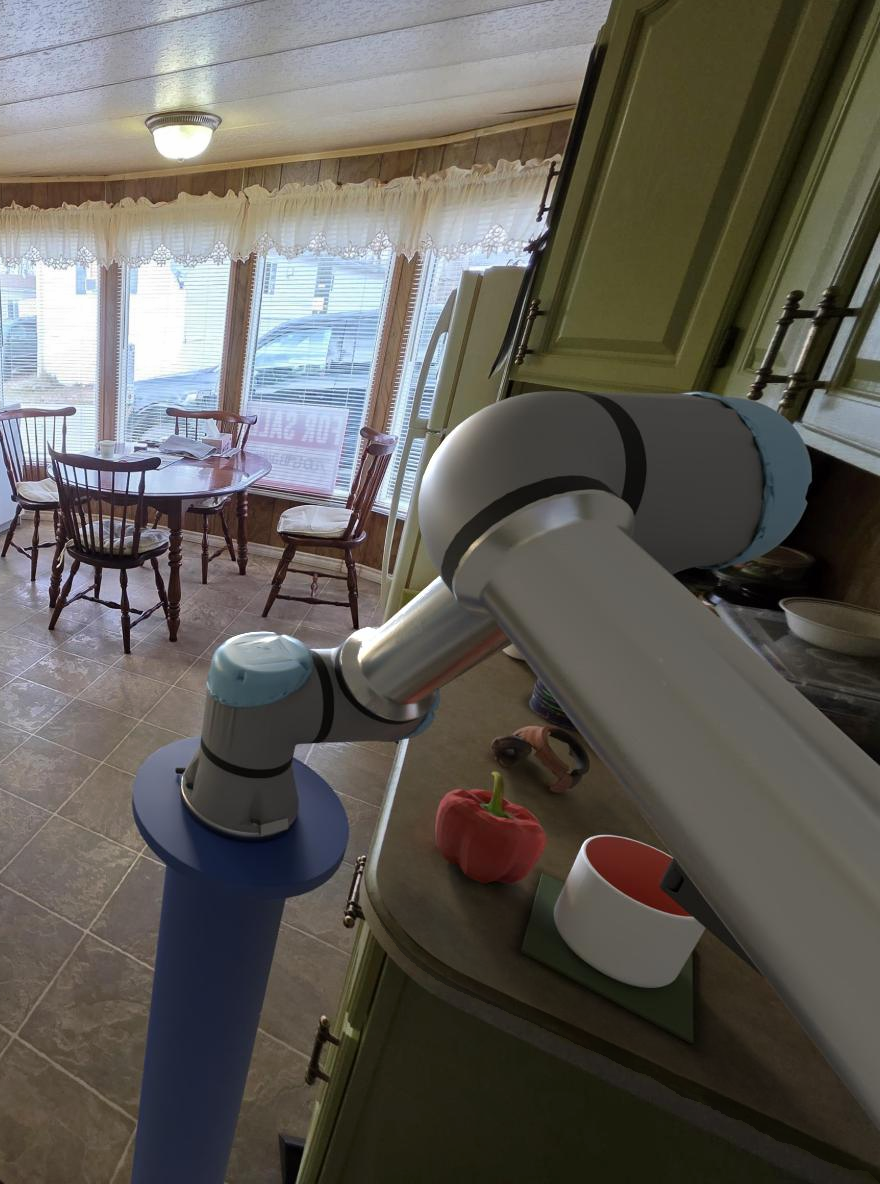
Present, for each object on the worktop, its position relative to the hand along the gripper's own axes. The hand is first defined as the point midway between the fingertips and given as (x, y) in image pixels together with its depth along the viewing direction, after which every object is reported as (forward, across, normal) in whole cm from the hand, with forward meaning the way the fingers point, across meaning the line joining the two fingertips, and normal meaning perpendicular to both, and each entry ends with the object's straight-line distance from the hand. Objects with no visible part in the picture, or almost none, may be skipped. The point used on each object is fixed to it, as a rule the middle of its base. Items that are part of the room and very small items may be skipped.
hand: (780, 830), depth 46 cm
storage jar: (+58, +11, -25) cm, 64 cm away
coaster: (+10, 0, -25) cm, 26 cm away
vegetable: (+18, -10, -25) cm, 32 cm away
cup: (+10, 0, -24) cm, 26 cm away
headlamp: (+39, 0, -25) cm, 46 cm away
